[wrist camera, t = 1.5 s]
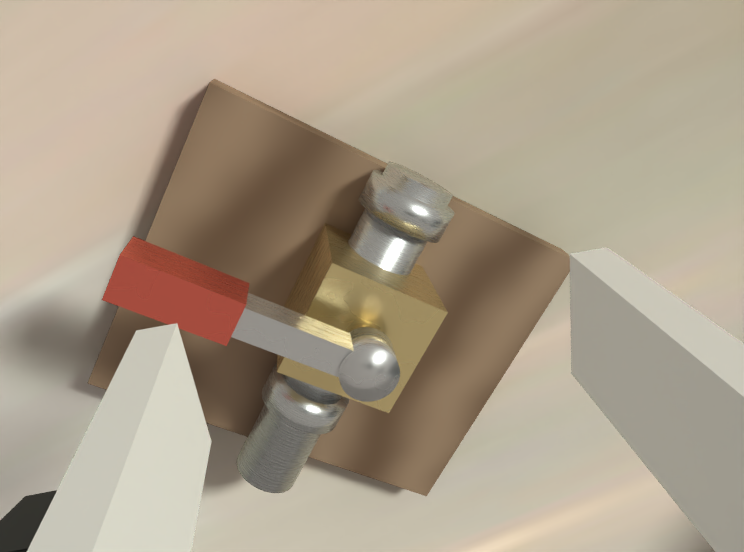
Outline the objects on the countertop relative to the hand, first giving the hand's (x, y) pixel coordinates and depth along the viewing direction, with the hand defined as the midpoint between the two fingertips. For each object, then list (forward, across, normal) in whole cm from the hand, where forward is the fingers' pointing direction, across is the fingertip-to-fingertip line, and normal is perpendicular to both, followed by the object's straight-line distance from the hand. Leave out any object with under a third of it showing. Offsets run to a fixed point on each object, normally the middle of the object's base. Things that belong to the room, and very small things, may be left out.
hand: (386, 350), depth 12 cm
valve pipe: (+22, +1, +10) cm, 24 cm away
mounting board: (+23, +1, +10) cm, 25 cm away
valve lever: (+14, +4, +5) cm, 16 cm away
